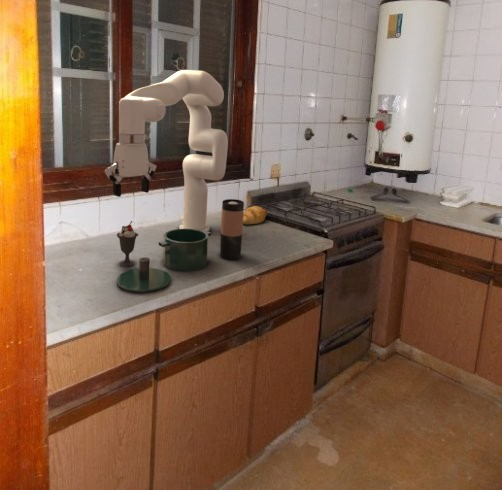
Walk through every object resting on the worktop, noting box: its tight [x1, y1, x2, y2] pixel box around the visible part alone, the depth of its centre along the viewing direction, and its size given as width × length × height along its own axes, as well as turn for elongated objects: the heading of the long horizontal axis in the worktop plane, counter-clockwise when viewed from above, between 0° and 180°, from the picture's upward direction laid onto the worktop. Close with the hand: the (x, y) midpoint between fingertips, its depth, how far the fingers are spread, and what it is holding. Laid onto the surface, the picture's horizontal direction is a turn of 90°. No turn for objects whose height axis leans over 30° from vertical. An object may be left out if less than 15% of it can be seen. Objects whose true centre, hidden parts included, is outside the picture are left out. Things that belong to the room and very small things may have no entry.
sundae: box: [116, 220, 139, 268], centre depth 142 cm, size 7×7×15 cm
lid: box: [116, 257, 172, 293], centre depth 130 cm, size 16×16×7 cm
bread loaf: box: [243, 205, 268, 225], centre depth 200 cm, size 21×10×8 cm, turn 150°
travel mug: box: [219, 198, 245, 261], centre depth 154 cm, size 8×8×20 cm
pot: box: [158, 228, 212, 272], centre depth 147 cm, size 15×20×10 cm
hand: (131, 193), depth 137 cm, fingers open, 9 cm apart
